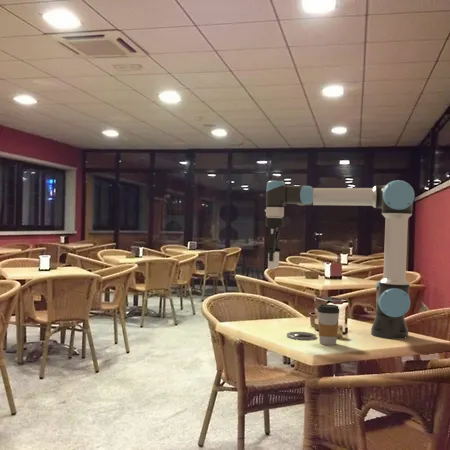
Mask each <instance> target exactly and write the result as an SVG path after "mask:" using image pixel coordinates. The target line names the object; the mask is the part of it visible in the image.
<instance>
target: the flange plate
mask: <svg viewBox="0 0 450 450" xmlns="http://www.w3.org/2000/svg"><path fill="white" fill-rule="evenodd" d="M286 337H287V338H288V339H291V340H296V339H298V340H297V341H311V340H310V339H313V340H316V339H317V335H316V334H315V333H313V332H305V331H289V332H287V333H286ZM315 338H316V339H315Z"/></svg>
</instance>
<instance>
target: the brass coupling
mask: <svg viewBox="0 0 450 450" xmlns="http://www.w3.org/2000/svg"><path fill="white" fill-rule="evenodd" d="M343 328H344V326H343V325H341V324H338V332H337V340H339V339H343V332H344V329H343Z"/></svg>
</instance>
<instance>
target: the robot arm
mask: <svg viewBox="0 0 450 450" xmlns="http://www.w3.org/2000/svg"><path fill="white" fill-rule="evenodd" d="M414 200H415V190H414V188H413V186H411V184H410V183H408V182H406V181H405V180H400V179H397V180H392V181H389V182H388V183H387V184H383V185H374V186H373V187H313V186H310V185H285V182H284V180H269V181H267V182H266V191H265V209H264V212H265V217H266V218H265V227H267V228H268V227H269V229H268V240H267V241H268V242H267V250H266V252H265V253H266V254H267V270H276V269H275V268H279V267H280V252H282V249H281V244H280V243H281V242H280V234H281V233H280V229H279V228H283V227H284V223H285V222H284V218H283V217H285V205H287V204H293V205H297V206H302V207H303V206H355V207H357V206H364V207H367V206H370V207H373V208H374V209H381V215H382V216H383V217H384V219H385V223H384V225H385V226H384V245H383V246H384V249H383V251H384V252H383V274H382V278H381V279H380V280H378V281H377V283H376V285H375V289H376V293H375V296H376V299H375V318H374V321H373V323H372V325H371V328H370V330H371V331H370V334H371V335H372V336H375V337H377V338H382V337H383V339H391V338H403V339H406V338H405V337H407V338H408V337H409V330H408V326H407V323H406V320H405V315H406V314H407V313H408V312H409V310H410V307H411V302H412V301H411V298H410V282H409V281H408V280H407V279H406V278H407V277H406V276H407V252H408V251H407V250H408V229H409V227H408V226H409V225H408V224H409V223H408V222H409V218H410V217H412V215H413V203H414Z"/></svg>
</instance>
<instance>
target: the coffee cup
mask: <svg viewBox="0 0 450 450" xmlns="http://www.w3.org/2000/svg"><path fill="white" fill-rule="evenodd" d="M317 312H318V314H317V315H318V338H319V344H320V345H322V346H335V345H336V344H337V340H338V339H337V332H338V325H339V316H340V308H339V306H338V305H335V304H327V303H326V304H325V303H324V304H319V305H318V308H317Z"/></svg>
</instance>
